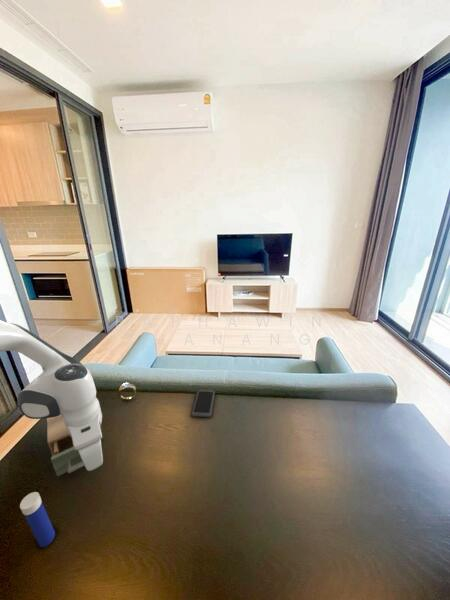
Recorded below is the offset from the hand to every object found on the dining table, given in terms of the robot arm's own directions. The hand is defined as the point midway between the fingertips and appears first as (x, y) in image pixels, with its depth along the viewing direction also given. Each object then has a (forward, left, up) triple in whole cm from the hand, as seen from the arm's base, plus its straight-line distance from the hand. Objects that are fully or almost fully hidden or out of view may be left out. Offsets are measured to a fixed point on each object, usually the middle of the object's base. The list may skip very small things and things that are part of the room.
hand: (93, 453), depth 73 cm
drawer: (-4, +7, -4) cm, 9 cm away
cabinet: (-4, +16, -5) cm, 17 cm away
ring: (+15, +22, -5) cm, 28 cm away
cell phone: (+39, +2, -5) cm, 40 cm away
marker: (-13, -13, -5) cm, 19 cm away
